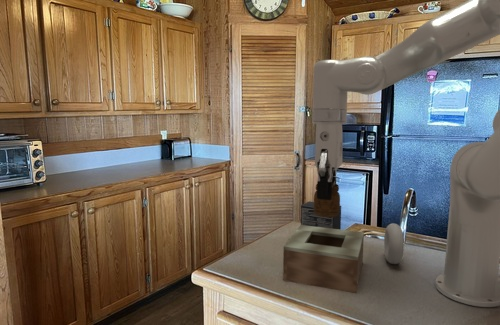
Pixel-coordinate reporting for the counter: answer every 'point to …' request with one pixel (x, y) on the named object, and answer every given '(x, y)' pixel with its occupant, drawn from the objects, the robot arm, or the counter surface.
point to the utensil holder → (328, 202)
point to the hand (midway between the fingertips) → (326, 195)
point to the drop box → (324, 257)
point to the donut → (393, 243)
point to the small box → (318, 218)
